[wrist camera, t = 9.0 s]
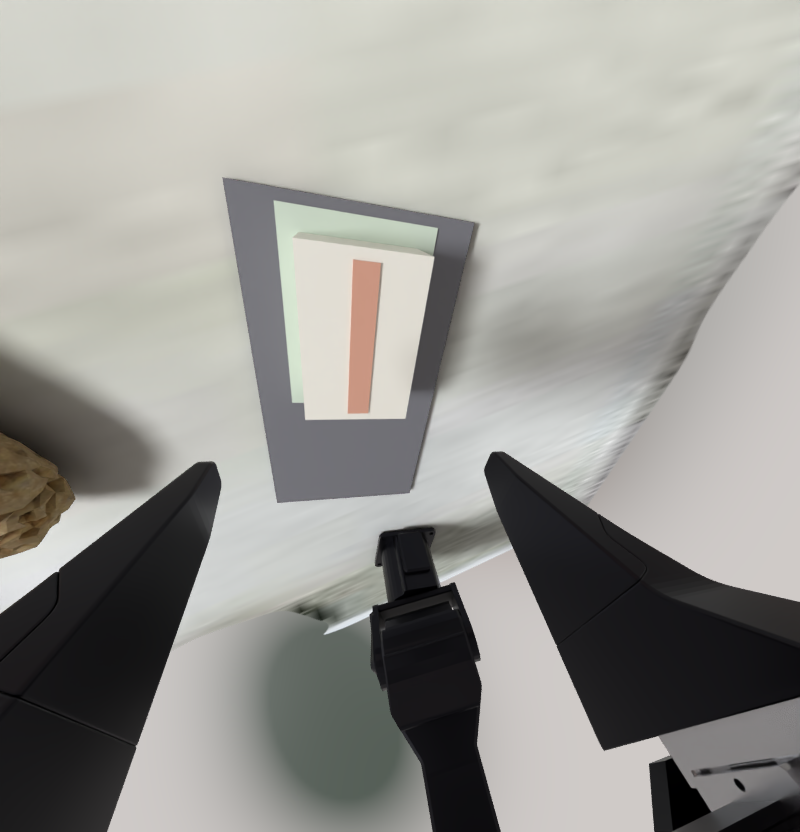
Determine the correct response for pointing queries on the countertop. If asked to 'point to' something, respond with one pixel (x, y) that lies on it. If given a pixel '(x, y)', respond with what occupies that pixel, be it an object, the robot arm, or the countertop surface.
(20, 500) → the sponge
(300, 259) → the card box
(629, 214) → the countertop surface
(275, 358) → the mat
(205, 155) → the countertop surface
